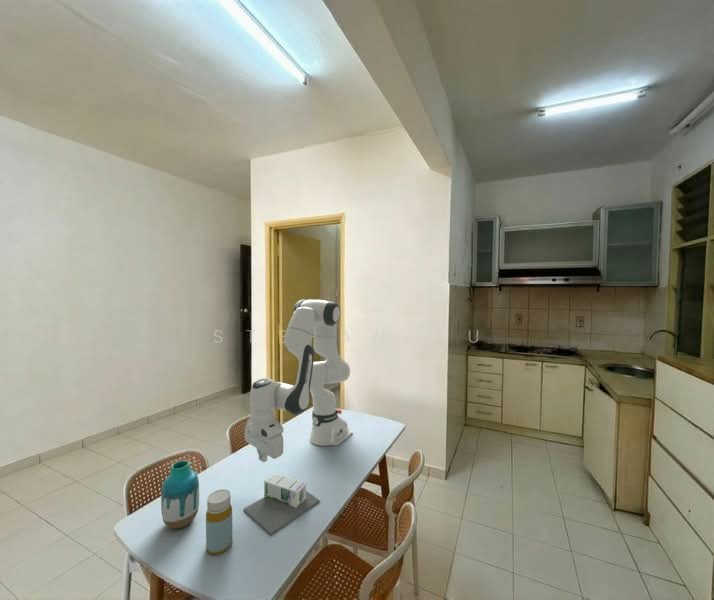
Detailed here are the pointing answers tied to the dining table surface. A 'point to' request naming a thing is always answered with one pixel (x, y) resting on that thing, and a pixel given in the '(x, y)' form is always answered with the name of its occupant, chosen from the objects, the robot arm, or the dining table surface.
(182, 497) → the vase
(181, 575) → the dining table surface
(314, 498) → the mat
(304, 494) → the syrup box
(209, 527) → the bottle
